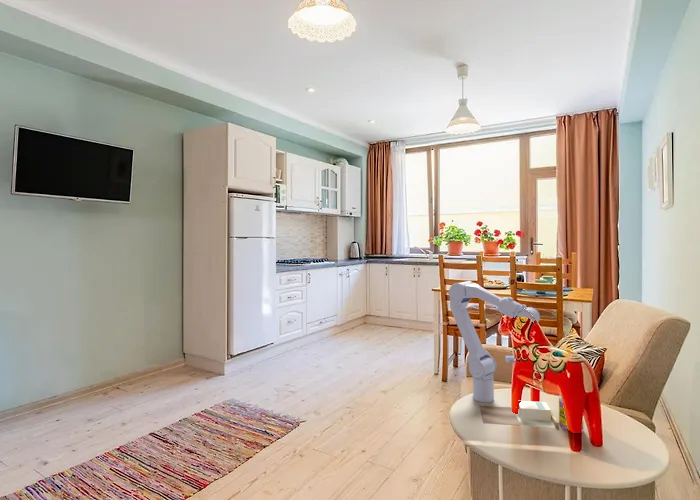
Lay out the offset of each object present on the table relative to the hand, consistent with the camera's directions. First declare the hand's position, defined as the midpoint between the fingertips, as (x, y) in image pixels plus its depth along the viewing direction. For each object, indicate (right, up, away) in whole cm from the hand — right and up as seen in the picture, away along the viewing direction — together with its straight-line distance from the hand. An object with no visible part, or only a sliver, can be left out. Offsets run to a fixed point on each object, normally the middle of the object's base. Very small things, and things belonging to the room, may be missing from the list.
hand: (529, 384), depth 139 cm
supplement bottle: (+8, -10, -12) cm, 17 cm away
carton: (0, -9, -4) cm, 10 cm away
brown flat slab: (-6, -10, -4) cm, 12 cm away
